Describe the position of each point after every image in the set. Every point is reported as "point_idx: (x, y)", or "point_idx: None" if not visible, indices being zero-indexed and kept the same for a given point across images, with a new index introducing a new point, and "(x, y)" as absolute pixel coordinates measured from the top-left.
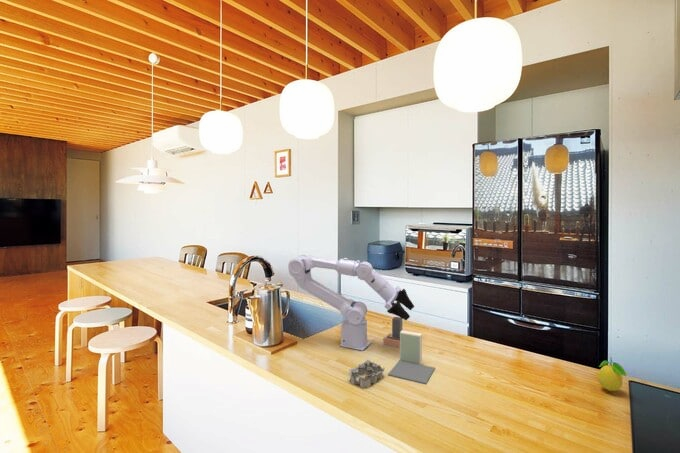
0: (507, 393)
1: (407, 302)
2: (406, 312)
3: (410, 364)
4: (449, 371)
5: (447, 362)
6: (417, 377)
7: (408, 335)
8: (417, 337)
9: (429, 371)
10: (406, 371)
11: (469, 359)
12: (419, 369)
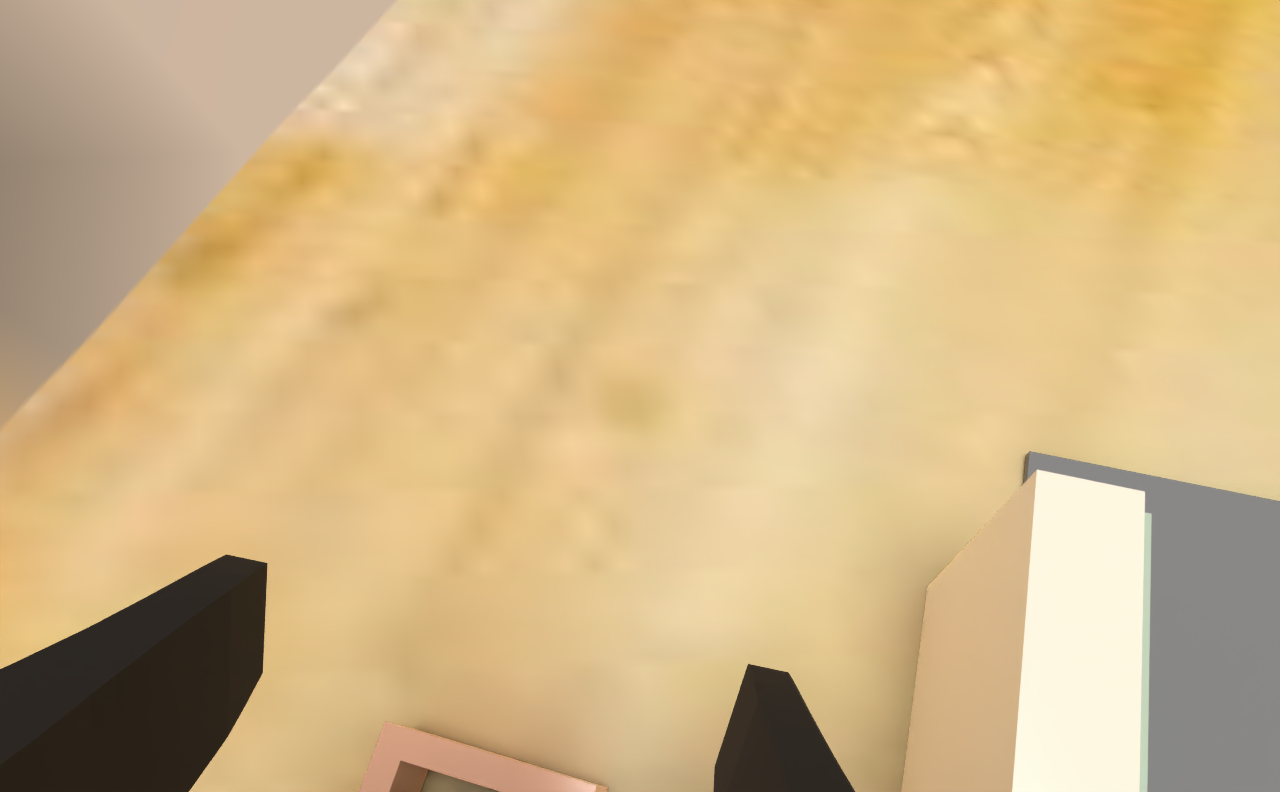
0: (1195, 15)
1: (131, 741)
2: (796, 748)
3: None
4: (1021, 336)
5: (835, 349)
6: None
7: (1142, 706)
8: (1145, 546)
9: None
10: (1272, 751)
11: (717, 189)
12: None
